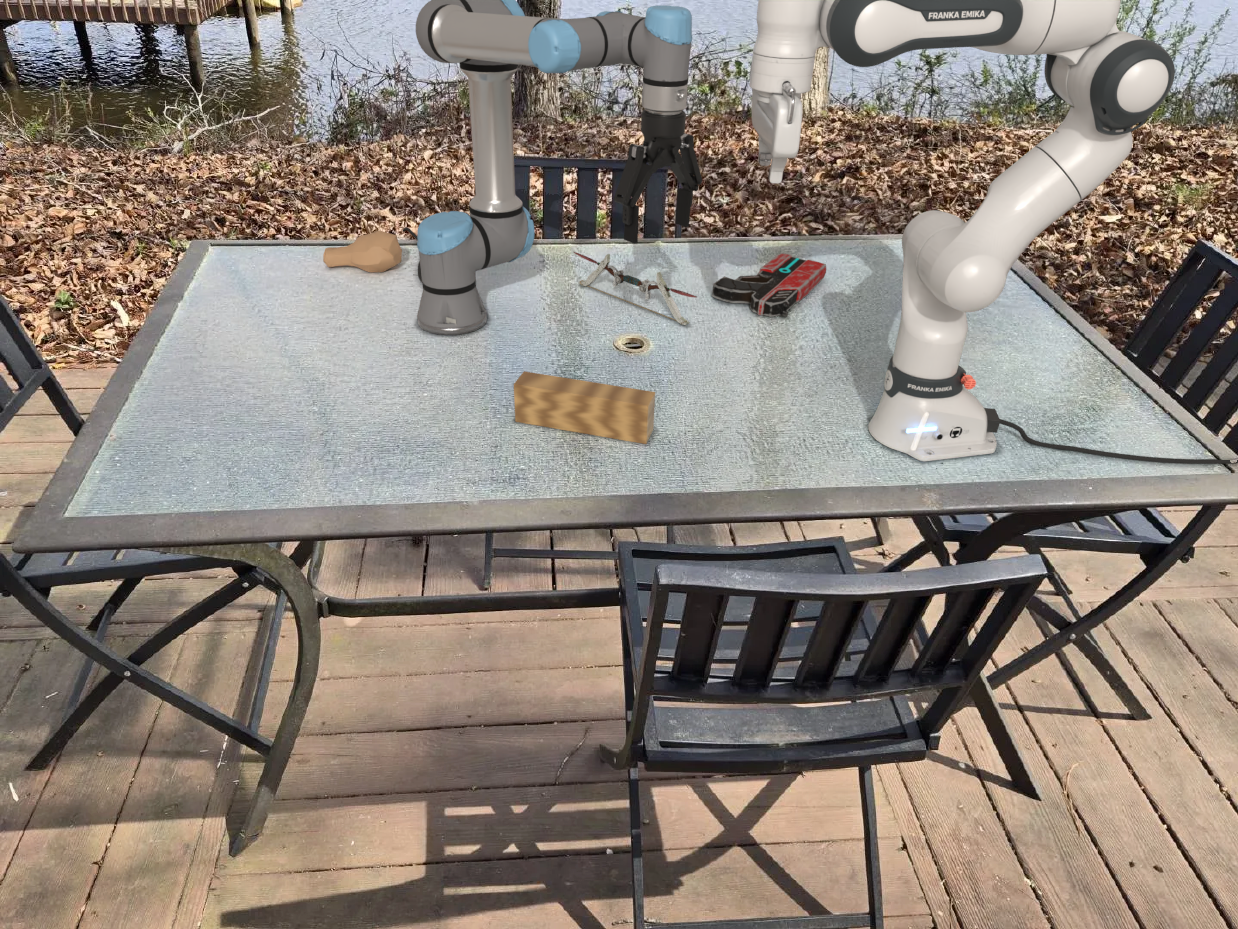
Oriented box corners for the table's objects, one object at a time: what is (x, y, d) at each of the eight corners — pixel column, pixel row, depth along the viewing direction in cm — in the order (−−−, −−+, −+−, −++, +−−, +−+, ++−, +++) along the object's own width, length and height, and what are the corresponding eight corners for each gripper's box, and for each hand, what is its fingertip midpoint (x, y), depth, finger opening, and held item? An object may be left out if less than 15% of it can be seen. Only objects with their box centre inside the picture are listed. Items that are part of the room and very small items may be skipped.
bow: (697, 327, 197) (701, 285, 192) (692, 329, 196) (696, 287, 191) (576, 279, 219) (576, 241, 213) (571, 281, 218) (571, 242, 212)
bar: (515, 421, 162) (513, 384, 157) (525, 408, 166) (523, 371, 161) (646, 444, 156) (648, 405, 152) (653, 429, 160) (655, 391, 156)
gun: (708, 284, 207) (784, 305, 199) (760, 245, 229) (831, 262, 221) (706, 302, 209) (781, 323, 201) (758, 261, 231) (828, 278, 223)
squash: (402, 276, 219) (391, 244, 212) (324, 283, 220) (312, 251, 214) (409, 253, 226) (400, 222, 220) (335, 261, 228) (323, 229, 222)
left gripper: (626, 124, 138) (622, 254, 150) (728, 104, 153) (717, 223, 165) (594, 115, 142) (592, 242, 154) (696, 96, 157) (687, 213, 169)
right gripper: (818, 90, 118) (803, 193, 126) (789, 63, 135) (777, 156, 143) (771, 89, 118) (759, 192, 125) (749, 62, 135) (739, 155, 142)
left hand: (657, 232), depth 160 cm, fingers open, 13 cm apart
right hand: (769, 172), depth 134 cm, fingers open, 8 cm apart
